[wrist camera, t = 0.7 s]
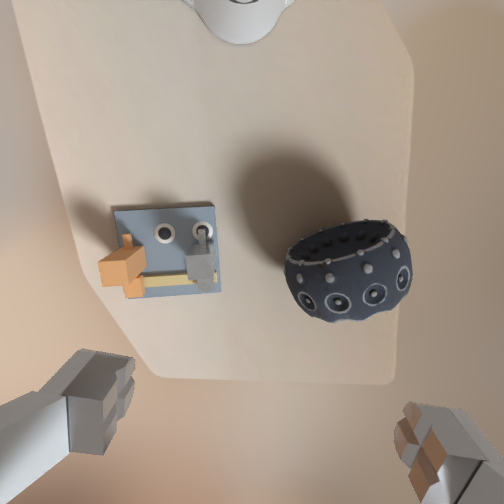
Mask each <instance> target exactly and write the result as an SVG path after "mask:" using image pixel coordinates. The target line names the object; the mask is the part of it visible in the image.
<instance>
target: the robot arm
mask: <svg viewBox="0 0 504 504" xmlns="http://www.w3.org/2000/svg"><path fill="white" fill-rule="evenodd" d="M183 1H184V2H185V3H186V4H187V5H189V6H190V7H191V8H193V9H194V10H195V11H196V12H197V13H198V14H199V16H200V17H201V19H202V20H203V22H204V23H205V25H206V26H207V27H208V28H209V29H210V31H211V32H213V33H214V34H215V35H216V36H218V37H219V38H221V39H223V40H225V41H227V42H230V43H235V44H248V43H252V42H255V41H257V40H259V39H261V38H262V37H264V36H265V35H266V34H267V33H268V32H269V31H270V30H271V29H272V28H273V27H274V25H275V24H276V22H277V20H278V18H279V16H280V14H281V13H282V11H283V10H284V9H285V8H287V7H288V6H289V5H290V4H292V3H293V2H294V0H183ZM134 370H135V359H134V358H133V357H128V356H122V355H116V354H111V353H106V352H98V351H92V350H87V349H81V350H78V351H77V352H76V353H75V354H74V355H73V356H72V357H71V358H70V359H69V360H68V361H67V362H66V363H65V364H64V365H63V366H62V368H60V369H59V371H58V372H57V373H56V374H55V375H54V376H53V377H52V378H51V379H50V380H49V381H48V382H47V383H46V384H45V385H44V386H43V387H42V388H41V389H40V390H39V391H38V392H34V391H31V392H29V393H27V394H25V395H23V396H21V397H18V398H16V399H14V400H12V401H10V402H8V403H6V404H3V405H1V406H0V504H6V503H7V502H9V501H10V500H11V499H13V498H14V497H15V496H16V495H18V494H19V493H20V492H21V491H23V490H24V489H25V488H26V487H27V486H29V485H30V484H31V483H33V482H34V481H35V480H37V479H38V478H39V477H40V476H42V475H43V474H44V473H45V472H47V471H48V470H49V469H50V468H52V467H53V466H54V465H56V464H57V463H58V462H59V461H61V460H62V459H63V458H64V457H65V456H67V455H68V454H69V452H78V453H86V454H94V455H104V453H105V451H106V449H107V448H108V446H109V444H110V442H111V440H112V438H113V436H114V434H115V433H116V423H117V421H118V420H119V419H121V418H122V417H124V416H125V414H126V412H127V410H128V408H129V405H130V403H131V399H132V397H133V392H134V385H135V381H134V379H133V378H132V376H131V375H132V373H133V372H134ZM403 414H404V416H405V418H403V419H402V420H400V421H399V422H397V425H396V427H395V430H394V443H395V447H396V451H397V452H398V455H399V457H400V459H401V460H402V461H403V462H404V463H405V464H406V465H407V466H408V467H409V473H408V477H409V479H410V481H411V483H412V485H413V488H414V490H415V492H416V494H417V496H418V498H419V500H420V503H421V504H504V458H503V457H502V456H501V455H500V454H499V452H498V451H497V450H496V448H495V447H494V446H493V445H492V444H491V442H490V441H489V440H488V439H487V437H486V436H485V435H484V434H483V432H482V431H481V430H480V429H479V427H478V426H477V425H476V424H475V422H474V421H473V420H472V419H471V418H470V416H469V415H468V414H467V413H466V412H465V411H463V410H462V409H459V408H452V407H445V406H443V407H442V406H436V405H430V404H423V403H416V402H408V403H407V404H406V405H405V407H404V409H403Z"/></svg>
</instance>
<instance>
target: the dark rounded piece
mask: <svg viewBox="0 0 504 504" xmlns="http://www.w3.org/2000/svg"><path fill="white" fill-rule="evenodd" d="M284 274H285V276H286V281H287V284H288V286H289V289H290V291H291V293H292V295H293V297H294V299H295V301H296V302H297V304H298V305H299V306H300V307H301V308H302V309H303V310H304V311H305V312H306V313H307V314H308V315H310V316H311V317H316V318H319V319H322V320H324V321H326V322H329V323H337V322H339V321H344V320H350V321H357V322H359V321H365V320H367V319H368V318H370V317H372V316H373V315H375V314H377V313H381V312H389V311H391V310H392V309H394V308H395V307H396V305H397V304H398V303H399V302H400V301H401V300H402V298H405V297H406V295H407V293H408V291H409V288H410V285H411V281H412V275H413V272H412V263H411V255H410V250H409V248H408V245H407V238H406V237H405V236H404V235H401V233H400V232H399V231H398V230H397V229H396V227H394V225H392V224H390V223H389V222H388V221H387V220H382V221H380V220H368V219H364V220H363V221H355V222H349V223H344V222H343V223H341V224H339V225H336V226H332V227H329V228H326V229H319V230H318V231H317V232H315V233H313V234H311V235H309V236H306V237H305V238H300V239H299V241H298V242H296V243H295V244H294V245H293V246H292V247H288V249H287V254H286V258H285V268H284Z"/></svg>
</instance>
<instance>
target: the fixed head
mask: <svg viewBox="0 0 504 504" xmlns="http://www.w3.org/2000/svg"><path fill="white" fill-rule="evenodd" d="M198 239H199V242H193V243H192V245H191V247H190V249H189V250H188V252H187V254H186V266H187V275H188V280H197V286H198V292H208V291H214V290H215V284H214V271H215V264H216V257H215V244H214V241H206V235H205V229H198Z"/></svg>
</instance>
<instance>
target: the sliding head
mask: <svg viewBox="0 0 504 504" xmlns="http://www.w3.org/2000/svg"><path fill="white" fill-rule="evenodd" d="M122 238H123V244H124V247H121V248H119V249H118V250H116V251H115V252H113V253H111V254H110V255H108V256H107V257H105V258H103V259H102V260H100V261H99V262H98V265H99V271H100V276H101V281H102V287H107V286H122V285H124V291H125V297H126V298H135V297H143V296H144V294H145V287H144V281H143V275H139V274H140V273H141V272H142V271H143V270H144V269H145V268H146V267H147V263H146V256H145V249H144V246H133V243H132V238H133V235H132V234H131V233H129V234H123V235H122Z"/></svg>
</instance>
